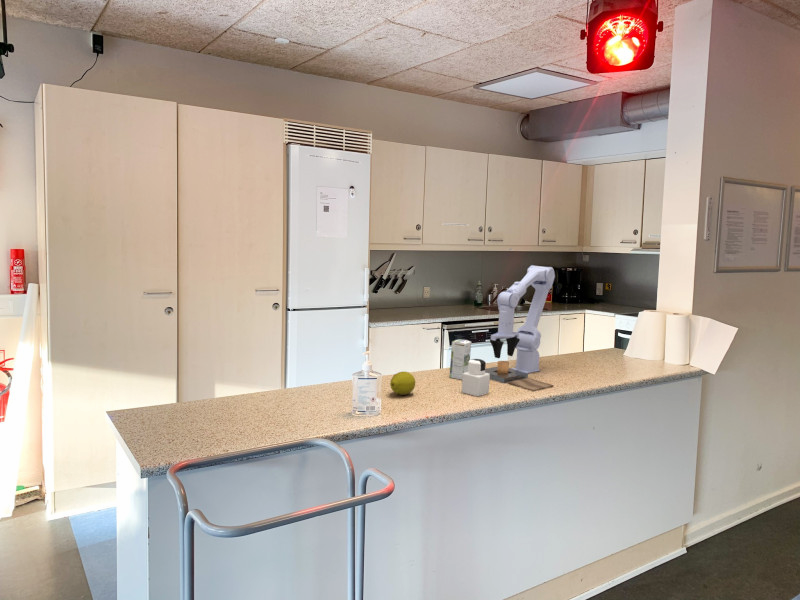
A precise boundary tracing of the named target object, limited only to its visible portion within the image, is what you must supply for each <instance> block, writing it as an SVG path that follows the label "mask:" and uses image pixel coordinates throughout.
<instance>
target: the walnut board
mask: <svg viewBox="0 0 800 600" xmlns="http://www.w3.org/2000/svg"><path fill="white" fill-rule="evenodd" d="M507 384H508V385H512V386H515V387H516V388H520V387H521V388H520V389H523V390H527V389H528V391H530V390H531V391H530V392H536V390H538V391H540V390H541V389H542V390H546V389H549V387H550V388H554V387H555V385H553V384H551V383H547V382H545V381H544V382H543V381H540V380H537V379H533V378H529V377H528V378H526V379H521V380H516V381H511V382H508V383H507ZM545 388H546V389H545ZM542 390H541V391H542Z"/></svg>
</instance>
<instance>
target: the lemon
mask: <svg viewBox="0 0 800 600" xmlns="http://www.w3.org/2000/svg"><path fill="white" fill-rule="evenodd" d="M389 383H390V385H389V386H390V389H391V390H392V392H394V393H395V394H397V395H399V396H400V395H401V396H403V395H404V396H405V395H408V394H410V393H411V392H412V391H413V390H414V389H415V387H416V379H415V377H414V375H413V374H412V373H410V372H409V371H399V372H397V373H395V374H394V375H393V376H392V377H391V379H390V382H389Z"/></svg>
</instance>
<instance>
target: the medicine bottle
mask: <svg viewBox="0 0 800 600" xmlns="http://www.w3.org/2000/svg"><path fill="white" fill-rule="evenodd" d="M486 363H487V362H486V361H485V360H483V359H480V358H472V359H471V358H470V360H469V362H468V371H469V372H466V373H463V378H462V380H461V381H462V382H461V393H462V394H466V395H469V394H470V396H474V397H477V396H478V397H481V395H482V396H485V395H486V394H489V393H490V392H489V390H490V380H491V379H490V374H489V373H484V372H485V369H486Z"/></svg>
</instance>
